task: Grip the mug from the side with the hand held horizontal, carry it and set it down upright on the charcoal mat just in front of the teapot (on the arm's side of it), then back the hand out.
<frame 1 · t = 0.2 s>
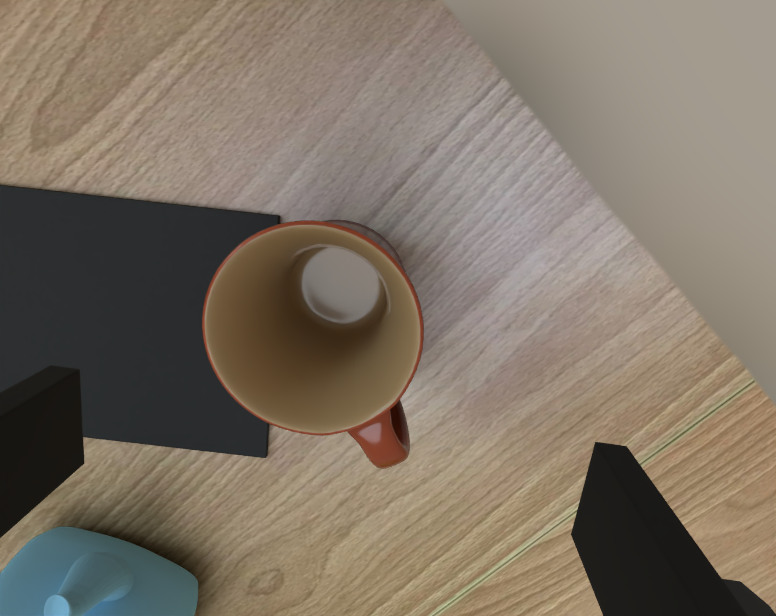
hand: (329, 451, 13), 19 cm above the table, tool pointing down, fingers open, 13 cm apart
mug: (356, 305, 32), on the table
front mat: (117, 325, 33), on the table
teapot: (125, 572, 38), on the table
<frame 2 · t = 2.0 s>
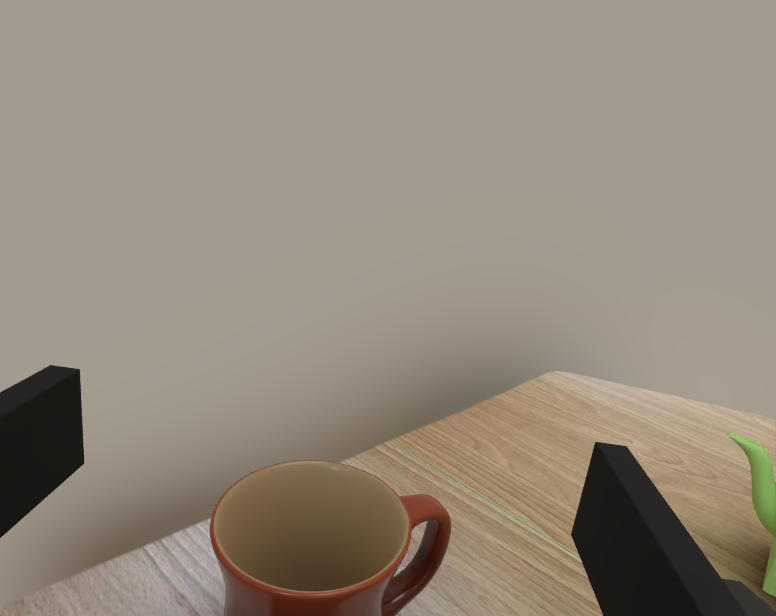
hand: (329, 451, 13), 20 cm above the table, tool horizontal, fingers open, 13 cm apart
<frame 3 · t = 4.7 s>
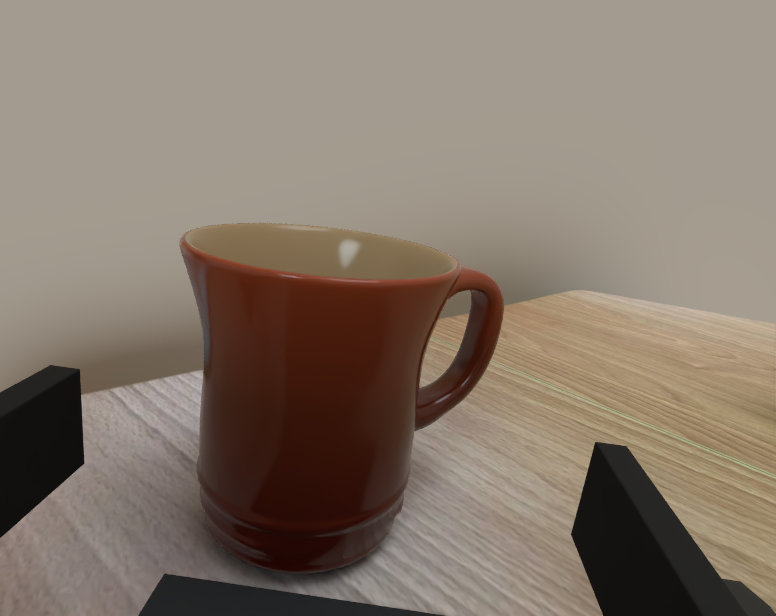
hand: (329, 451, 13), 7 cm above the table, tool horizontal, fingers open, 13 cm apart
mug: (341, 509, 21), on the table
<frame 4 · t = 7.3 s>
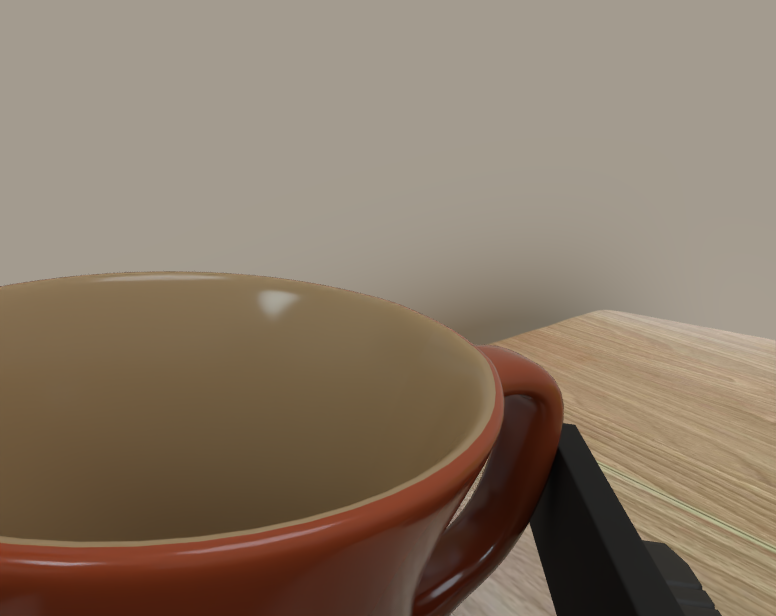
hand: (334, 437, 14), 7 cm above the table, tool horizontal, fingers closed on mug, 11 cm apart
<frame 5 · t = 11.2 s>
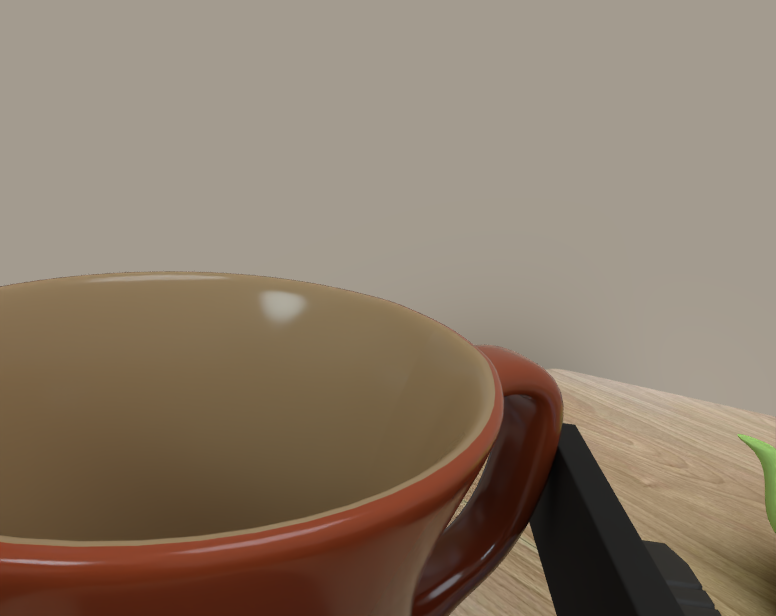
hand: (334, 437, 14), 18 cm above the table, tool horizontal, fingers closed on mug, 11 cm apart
when the fingers open (7 cm above the table, at t = 15.6 s): mug stays where it is, resting on front mat.
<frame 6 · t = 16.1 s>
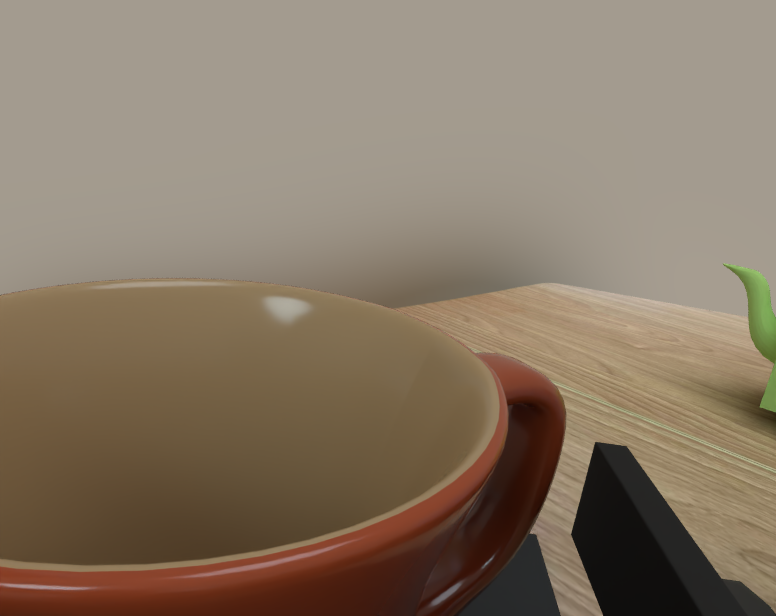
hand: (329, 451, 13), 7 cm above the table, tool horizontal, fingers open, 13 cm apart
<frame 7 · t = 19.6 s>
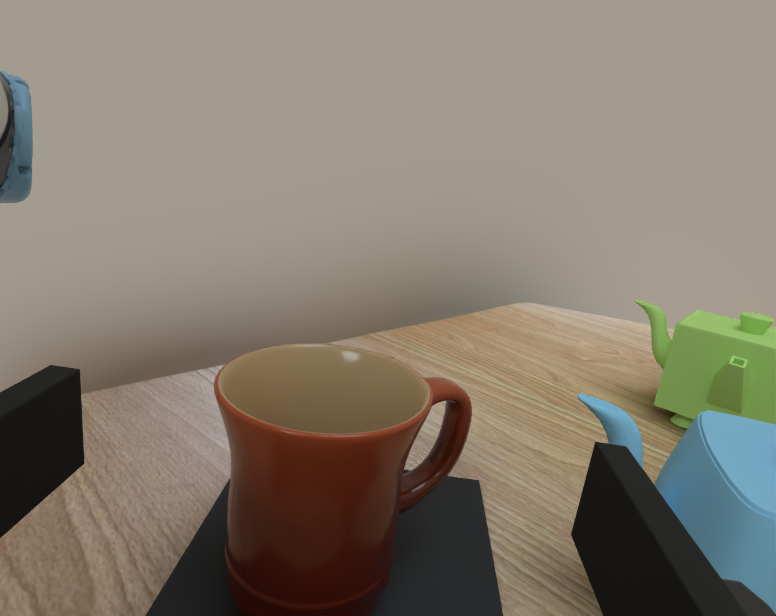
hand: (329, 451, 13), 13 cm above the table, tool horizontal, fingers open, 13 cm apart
mug: (339, 577, 26), resting on front mat
front mat: (340, 581, 26), on the table
kettle: (718, 425, 50), on the table
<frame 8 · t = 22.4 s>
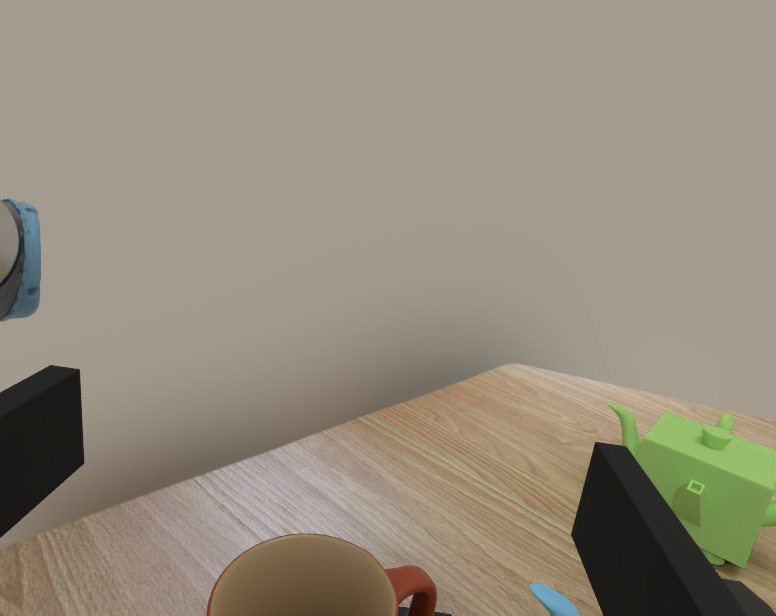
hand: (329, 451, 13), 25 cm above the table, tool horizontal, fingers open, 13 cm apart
kettle: (683, 525, 53), on the table
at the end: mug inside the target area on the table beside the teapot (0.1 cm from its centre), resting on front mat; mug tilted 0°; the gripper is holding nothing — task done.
